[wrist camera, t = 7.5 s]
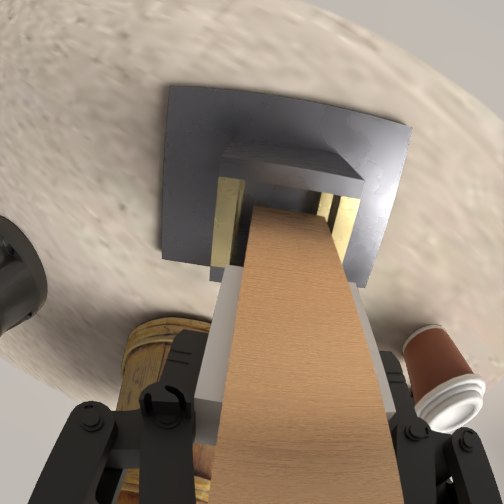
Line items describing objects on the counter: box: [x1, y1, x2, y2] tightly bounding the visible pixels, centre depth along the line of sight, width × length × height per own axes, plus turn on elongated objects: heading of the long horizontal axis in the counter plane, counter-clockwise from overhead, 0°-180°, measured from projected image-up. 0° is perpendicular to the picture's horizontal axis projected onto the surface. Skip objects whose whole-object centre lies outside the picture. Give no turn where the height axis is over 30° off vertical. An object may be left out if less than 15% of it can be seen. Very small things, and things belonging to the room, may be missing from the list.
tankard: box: [116, 317, 216, 504], centre depth 29 cm, size 18×24×25 cm
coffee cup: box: [402, 324, 485, 433], centre depth 30 cm, size 9×9×12 cm
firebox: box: [162, 86, 412, 288], centre depth 23 cm, size 20×16×9 cm
